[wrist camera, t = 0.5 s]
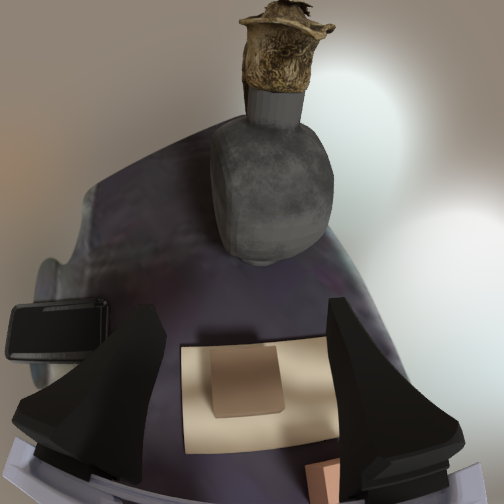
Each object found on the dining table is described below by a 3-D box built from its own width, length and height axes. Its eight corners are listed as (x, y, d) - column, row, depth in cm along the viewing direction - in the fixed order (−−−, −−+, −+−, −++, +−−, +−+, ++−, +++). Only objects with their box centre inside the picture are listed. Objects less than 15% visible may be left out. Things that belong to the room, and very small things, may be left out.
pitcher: (228, 302, 32) (241, -23, 9) (204, 193, 44) (203, -11, 21) (318, 285, 35) (409, 15, 12) (272, 186, 46) (298, -6, 23)
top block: (354, 493, 19) (382, 498, 15) (310, 505, 19) (330, 515, 14) (348, 455, 22) (375, 452, 17) (304, 465, 21) (323, 467, 17)
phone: (105, 360, 26) (3, 359, 23) (109, 363, 27) (8, 362, 24) (107, 296, 31) (12, 303, 28) (110, 300, 32) (16, 308, 29)
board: (352, 433, 23) (354, 432, 23) (186, 453, 22) (185, 453, 21) (331, 337, 30) (333, 335, 30) (182, 349, 28) (181, 347, 28)
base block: (279, 413, 24) (285, 408, 22) (215, 418, 24) (213, 414, 21) (271, 356, 28) (276, 345, 26) (211, 360, 27) (209, 349, 25)
